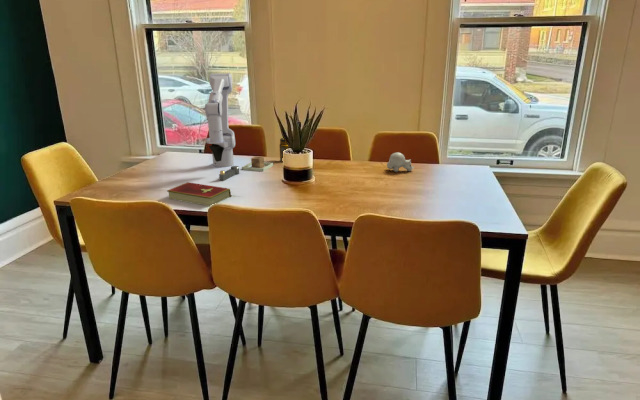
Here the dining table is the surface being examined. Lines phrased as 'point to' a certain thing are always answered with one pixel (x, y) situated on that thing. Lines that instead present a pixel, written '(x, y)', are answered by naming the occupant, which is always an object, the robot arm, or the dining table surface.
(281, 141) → the condiment
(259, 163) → the block
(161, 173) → the dining table surface
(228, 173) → the crank
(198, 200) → the hardcover book
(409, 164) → the toy rhinoceros
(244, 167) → the tray
